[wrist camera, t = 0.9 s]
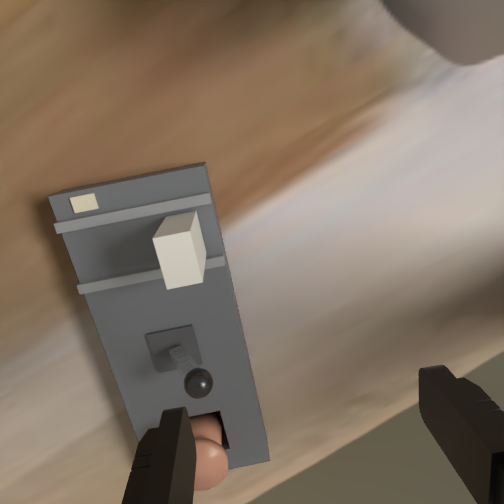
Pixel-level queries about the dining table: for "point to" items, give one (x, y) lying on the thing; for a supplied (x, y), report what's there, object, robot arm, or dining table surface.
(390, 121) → the dining table surface
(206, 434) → the button
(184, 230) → the cream rectangular prism
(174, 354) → the toggle
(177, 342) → the panel
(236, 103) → the dining table surface
